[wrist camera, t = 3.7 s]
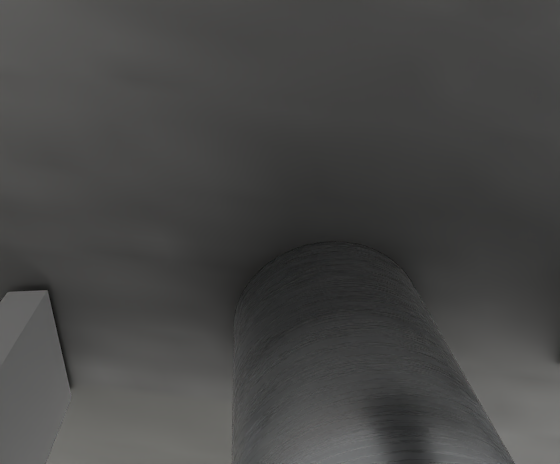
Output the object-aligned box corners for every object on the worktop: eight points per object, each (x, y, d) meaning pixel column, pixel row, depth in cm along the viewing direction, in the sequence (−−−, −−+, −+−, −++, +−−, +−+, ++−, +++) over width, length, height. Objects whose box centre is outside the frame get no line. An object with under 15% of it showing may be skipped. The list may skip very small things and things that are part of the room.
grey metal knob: (229, 245, 10) (215, 653, 4) (429, 237, 11) (705, 613, 4) (237, 401, 12) (235, 857, 6) (409, 391, 12) (587, 821, 6)
